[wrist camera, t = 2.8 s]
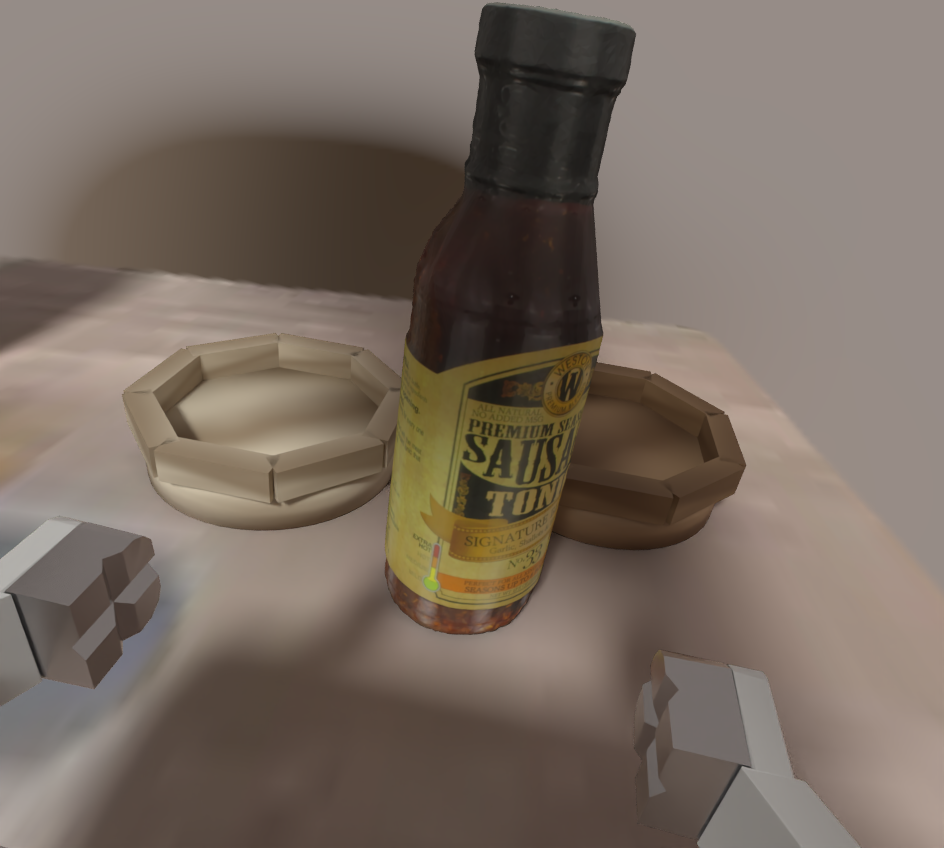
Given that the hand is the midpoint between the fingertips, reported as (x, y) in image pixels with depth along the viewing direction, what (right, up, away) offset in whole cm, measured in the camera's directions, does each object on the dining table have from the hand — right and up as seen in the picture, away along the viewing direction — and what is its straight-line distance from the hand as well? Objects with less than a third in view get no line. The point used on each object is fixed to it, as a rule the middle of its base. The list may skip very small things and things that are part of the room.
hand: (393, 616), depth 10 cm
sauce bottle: (+1, -4, +16) cm, 17 cm away
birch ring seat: (-9, +2, +22) cm, 24 cm away
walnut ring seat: (+8, 0, +24) cm, 25 cm away
